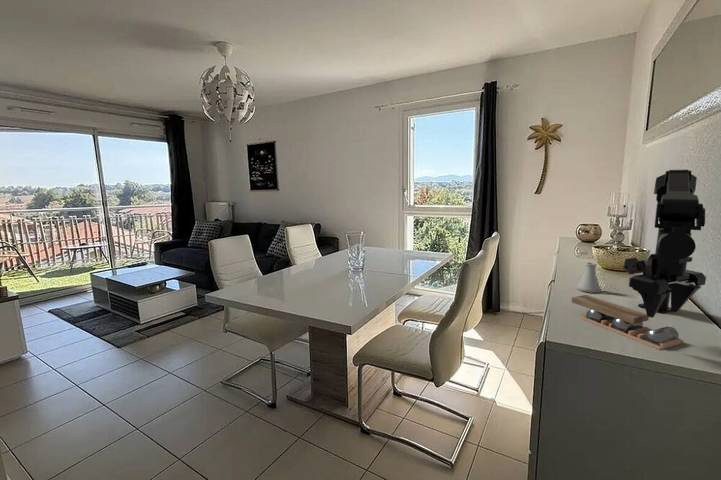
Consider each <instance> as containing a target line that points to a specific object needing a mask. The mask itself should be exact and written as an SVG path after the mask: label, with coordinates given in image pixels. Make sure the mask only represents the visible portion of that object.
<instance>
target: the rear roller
mask: <svg viewBox="0 0 721 480" xmlns="http://www.w3.org/2000/svg"><path fill="white" fill-rule="evenodd" d="M585 314H586V317H587V319H590V320H593V321H595V322H598V323H601V321H603V320H607V319H612V318H614V317H612V316H609V315H606V314H603V313H600V312H597V311H595V310H592V309H589V310H588V311H586V313H585Z"/></svg>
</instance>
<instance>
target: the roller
mask: <svg viewBox="0 0 721 480" xmlns="http://www.w3.org/2000/svg"><path fill="white" fill-rule="evenodd" d="M679 337H680V335H679V332H678V331H677V329H675V328H674V327H672V326H663V327H660V328H656V329H652V330H651V331H647V332H646V333H645V334H644V339H643V340H645V341H647V342H650V343H652V344H655V345H657V346H660V343H662V342H666V341H670V340H673V339H677V338H679ZM679 339H680V338H679Z"/></svg>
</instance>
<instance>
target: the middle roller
mask: <svg viewBox="0 0 721 480" xmlns="http://www.w3.org/2000/svg"><path fill="white" fill-rule="evenodd" d="M611 326H612V328H613V329H616V330H619V331H621V332H624V333H627V332H628V331H631V330H635V329H639V328H641V327H642V326H643V327H644V322H640V323H636V324H632V323H629V322H626V321H623V320H620V319H615V320H613V321H612V322H611Z"/></svg>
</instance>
